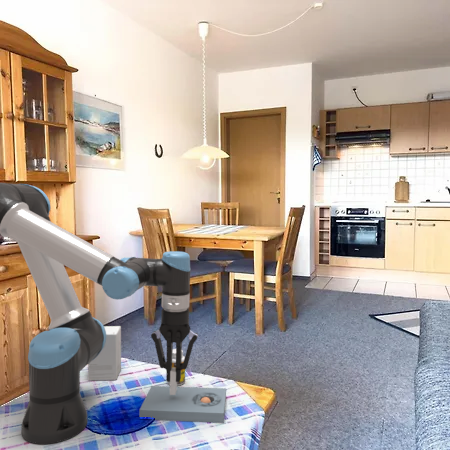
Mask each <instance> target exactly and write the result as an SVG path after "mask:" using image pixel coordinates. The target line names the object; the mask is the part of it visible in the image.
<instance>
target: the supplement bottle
mask: <svg viewBox="0 0 450 450" xmlns="http://www.w3.org/2000/svg"><path fill="white" fill-rule="evenodd" d="M184 359H185V355H184V351H183V349H182V363H184ZM172 364H173V365H172V367H173V368H176V348H173V354H172ZM166 382H167V384H168V386H170V382H168V381H167V380H166ZM185 382H186V369H182V370H181V379H180V382H177V387H181V385H184V384H185Z"/></svg>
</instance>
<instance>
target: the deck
mask: <svg viewBox="0 0 450 450" xmlns="http://www.w3.org/2000/svg"><path fill="white" fill-rule="evenodd" d="M204 397H208V398H209V399H210V401H211V403H203V402H201V399H202V398H204ZM226 401H227V388H226V387H225V388H223V387H222V388H221V387H220V388H218V387H197V386H196V387H195V386H177V391H176V394H175V395H170V385H167V386H166V385H151V386H150V388H149V390H148V392H147V394H146V396H145V399H144V400H143V402H142V403H141V406H140V408H139V412H138V413H139V415H138V416H139V417H151V418H152V417H153V418H155V420H154V421H171V422H172V421H173V422H194V423H195V422H199V423H221V424H222V423H223V424H224V421H225V413H226Z"/></svg>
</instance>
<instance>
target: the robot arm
mask: <svg viewBox="0 0 450 450" xmlns="http://www.w3.org/2000/svg"><path fill="white" fill-rule="evenodd" d="M50 211H51V201H50V199H49V197H48V196H47V194H46V193H45V192H44V191H43V190H42V189H40V188H39V187H37V186H34V185H30V184H27V183H26V184H25V183H7V182H0V236H1V237H4V238H9V239H10V240H12V241H15V242H17V245H18V247H19V249H20V252H21V254H22V256H23V258H24V260H25V262H26V265H27V268H28V270H29V273H30V275H31V277H32V279H33V282H34V285H35V286H36V288H37V290H38V293H39V295H40V297H41V300H42V302H43V304H44V307H45V309H46V312H47V314H48V316H49V318H50V324H49V326H48V330H44V331H42V332H39V333H38V334H37V335H35V336H34V337H33V338H32V339H31V340H30V343H29V348H28V353H27V354H28V355H27V361H28V385H29V386H28V387H29V388H28V390H29V399H28V400H29V401H28V403H27V407H26V411H25V413H24V416H23V419H22V423H21V437H22V439H24V440H25V441H27V442H29V443H31V444H37V445H48V444H55V443H60V442H63V441H66V440H68V439H71V438H74V437H75V436H77V435H78V434H80V433H82V431H83V430H84V429H85V428H86V427H87V425H88V411H87V408H86V406H85V403H84V400H83V398H82V395H81V386H80V385H81V378H80V377H81V376H80V375H81V371H82V370H83V369H85V367H87V366H88V364H89V363H90V362H91V361H92V360H94V359H95V358H96V357H97V356H98V355H99V354H100V352H101V351H102V349H103V348H104V346H105V343H106V331H105V328H104V326H105V325H104V324H103V323H102V322H101V321H100V320H99V319H96V318H95V317H93V316H92V313H91V311H90V309H88V308H85V307H83V306H82V305H81V304H82V303H81V302H80V300H79V298H78V295H77V293H76V291H75V289H74V285H73V284H72V281H71V279H70V276H69V275H68V272H67V270H66V268H65V267H67V268H69V269H71V270H72V271H75V272H76V273H78V274H80V276H81V275H82V276H83V277H84V278H87V279H89V280H90V281H93V282H94V283H96V284H98V285H100V286H101V287H102V290H103V292H104V293H105V294H106V296H107V297H109V298H110V299H113V300H123V299H126V298H128V297H131V296H132V295H134V294H135V293H136V292H137V291H138V290H141V288H143V287H161V307H162V309H161V316H160V317H161V319H160V320H161V321H160V326H159V328H158V330H154V331H153V332H152V333H151V334H150V337H151V339H152V341H153V342H154V347H155V350H156V356H157V359H158V364H159V367H160V368H161V369H165V370H166V372H165V373H166V375H165V376H166V382H167V381H168V382H170V385H169V386H170V395H175V394H176V391H177V387H178V386H177V382H180V379H181V370H182V369H185V370H187V368H188V366H189V362H190V358H191V354H192V352H193V351H192V350H193V346H194V344H195V343H196V341H197V340H198V337H199V334H198V333H197V332H194V331H192V330H191V326H190V322H189V321H190V310H189V308H190V297H191V296H190V291H191V289H190V287H191V286H190V285H191V270H192V269H191V257H190V254H189V253H187V252H185V251H179V250H177V251H176V250H175V251H173V250H172V251H165V252H163V254H162V257H161V258H149V257H148V258H145V257H136V256H131V257H122V258H121V259H119V258H117V257H115V256H114V255H112V254H110V253H108V252H107V251H104V250H102V249H101V248H100V247H97V246H96V245H95V244H92V243H90V242H88V241H86V240H85V239H83V238H81V237H79V236H78V235H76V234H73V233H72V232H70V231H68V230H66V229H65V228H64V227H61V226H59V225H57V224H56V223H53V222H52V221H51V219H50ZM187 336H188V340H189V343H188V346H187V349H186V352H185V355H184V357H185V359H184V363H182V350H183V342H184V340H185V339H186V338H187ZM161 337H163V339H164V340H165V341H166V358H165V352H164V347H163V343H162V340H161V339H162V338H161ZM173 343H175V349H176V368H173V367H172V365H173V364H172V354H173V349H174V344H173ZM168 382H167V383H168Z"/></svg>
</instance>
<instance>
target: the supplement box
mask: <svg viewBox="0 0 450 450" xmlns="http://www.w3.org/2000/svg"><path fill="white" fill-rule="evenodd" d="M103 326H104V328H105V331H106V343H105V346H104V348H103V349H102V351H101V352H100V354H99V355H98V356H97V357H96V358H95V359H94V360H92V361H91V362H90V363H89V364H87V370H88V372H87V375H88V376H87V377H88V379H87V380H88V381H116V380H117V379H118V377H119V375H120V372H121V370H122V326H121V325H115V326H113V325H111V326H110V325H109V326H107V325H103Z"/></svg>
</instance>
